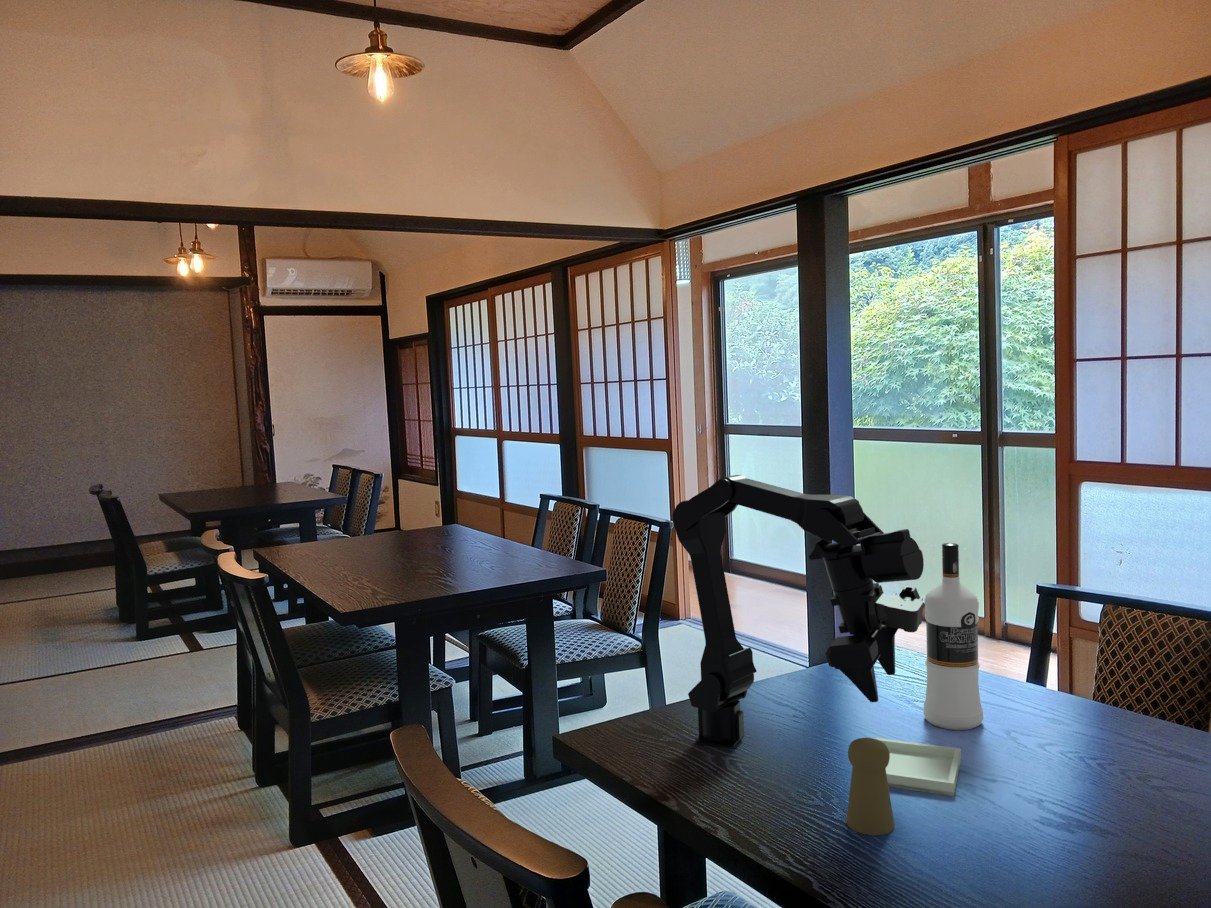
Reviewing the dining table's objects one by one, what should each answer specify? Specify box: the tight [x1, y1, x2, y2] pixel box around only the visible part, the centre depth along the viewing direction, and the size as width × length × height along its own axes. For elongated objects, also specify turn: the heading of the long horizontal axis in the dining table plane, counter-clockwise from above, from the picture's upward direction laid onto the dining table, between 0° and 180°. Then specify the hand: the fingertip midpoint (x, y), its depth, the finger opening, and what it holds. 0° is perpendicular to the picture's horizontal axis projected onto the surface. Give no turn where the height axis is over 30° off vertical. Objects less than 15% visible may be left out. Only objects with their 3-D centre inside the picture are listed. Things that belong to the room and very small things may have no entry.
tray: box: [873, 737, 962, 797], centre depth 131 cm, size 13×13×2 cm
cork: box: [845, 737, 895, 836], centre depth 116 cm, size 6×6×11 cm
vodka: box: [923, 542, 984, 731], centre depth 148 cm, size 9×9×30 cm
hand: (883, 687), depth 128 cm, fingers open, 9 cm apart
